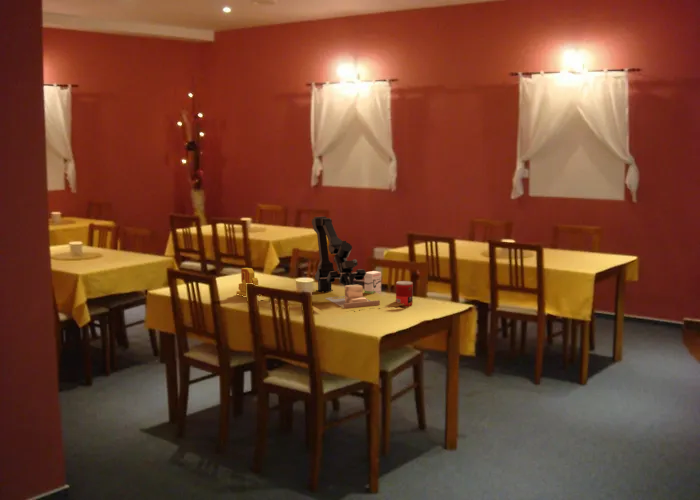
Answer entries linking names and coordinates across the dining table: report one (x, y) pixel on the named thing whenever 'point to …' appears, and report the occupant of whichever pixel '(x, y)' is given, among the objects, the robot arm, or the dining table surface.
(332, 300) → the board
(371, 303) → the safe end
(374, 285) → the ink box
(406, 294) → the canned food
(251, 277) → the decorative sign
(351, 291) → the birch block
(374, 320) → the dining table surface
